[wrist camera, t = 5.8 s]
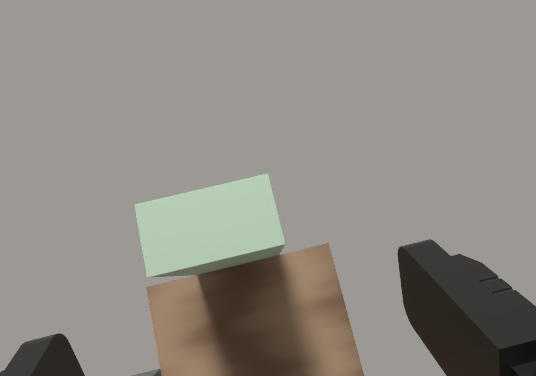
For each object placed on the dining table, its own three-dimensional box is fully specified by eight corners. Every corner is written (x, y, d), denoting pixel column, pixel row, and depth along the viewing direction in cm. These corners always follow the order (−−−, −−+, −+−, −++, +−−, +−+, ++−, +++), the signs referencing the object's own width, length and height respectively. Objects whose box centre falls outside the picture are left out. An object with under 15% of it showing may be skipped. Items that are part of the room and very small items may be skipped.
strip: (147, 277, 13) (134, 204, 13) (226, 273, 36) (221, 247, 37) (285, 243, 13) (267, 173, 14) (275, 261, 37) (269, 235, 37)
